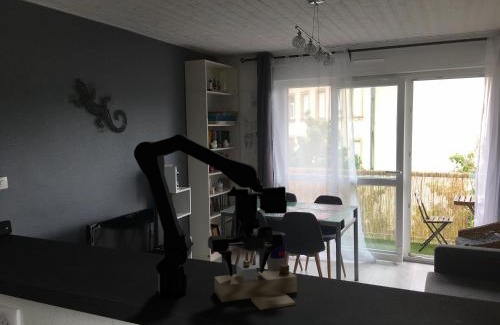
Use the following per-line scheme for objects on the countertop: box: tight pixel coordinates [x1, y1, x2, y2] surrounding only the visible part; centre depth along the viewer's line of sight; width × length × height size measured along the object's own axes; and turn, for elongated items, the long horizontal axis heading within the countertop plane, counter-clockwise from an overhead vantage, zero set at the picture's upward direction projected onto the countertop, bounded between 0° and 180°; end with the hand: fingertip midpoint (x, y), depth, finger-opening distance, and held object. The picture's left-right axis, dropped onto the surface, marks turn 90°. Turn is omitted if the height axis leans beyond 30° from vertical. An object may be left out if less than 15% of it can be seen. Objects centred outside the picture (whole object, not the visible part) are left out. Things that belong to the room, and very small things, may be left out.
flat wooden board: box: [250, 293, 296, 311], centre depth 99 cm, size 9×6×1 cm, turn 109°
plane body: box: [214, 263, 298, 303], centre depth 105 cm, size 20×7×6 cm, turn 109°
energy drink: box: [267, 231, 287, 271], centre depth 119 cm, size 5×5×12 cm
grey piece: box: [236, 260, 258, 282], centre depth 104 cm, size 4×6×4 cm, turn 19°
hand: (246, 274), depth 105 cm, fingers open, 8 cm apart
